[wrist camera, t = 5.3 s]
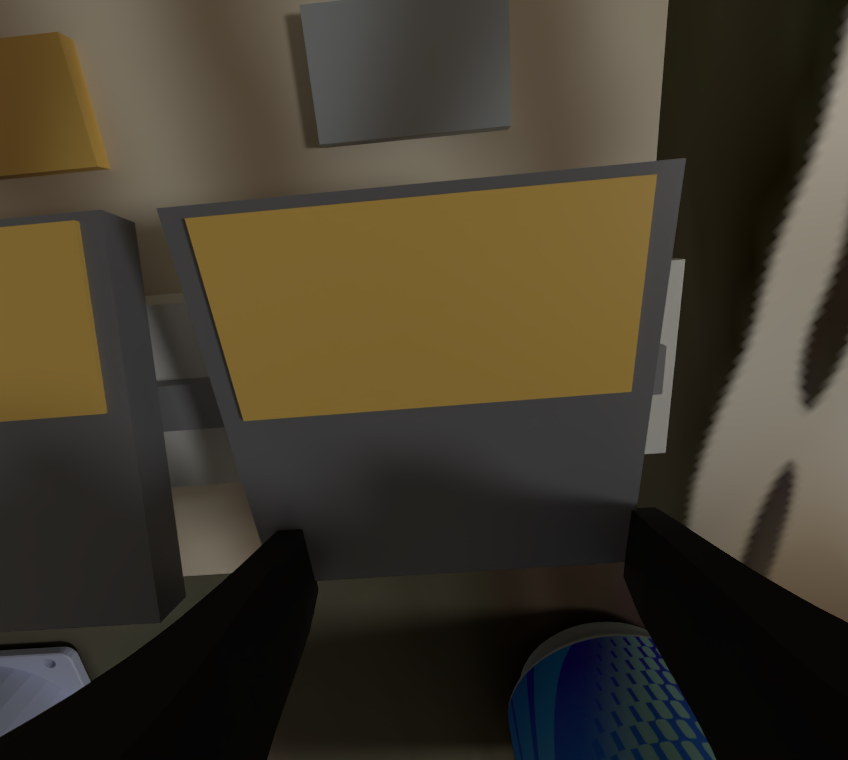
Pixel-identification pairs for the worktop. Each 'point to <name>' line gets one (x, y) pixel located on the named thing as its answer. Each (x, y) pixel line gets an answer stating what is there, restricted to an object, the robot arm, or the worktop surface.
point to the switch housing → (201, 419)
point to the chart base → (305, 120)
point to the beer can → (602, 700)
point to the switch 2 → (438, 362)
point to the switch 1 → (80, 431)
